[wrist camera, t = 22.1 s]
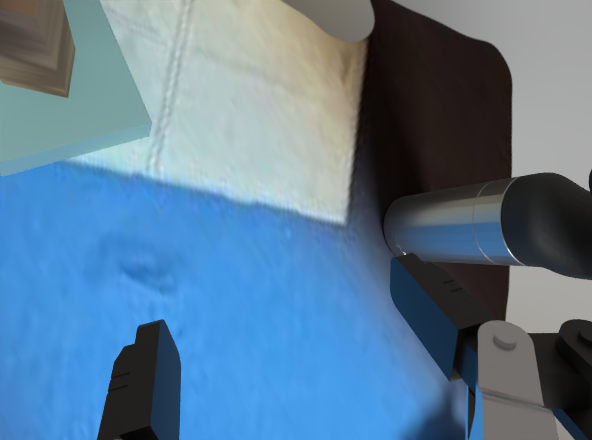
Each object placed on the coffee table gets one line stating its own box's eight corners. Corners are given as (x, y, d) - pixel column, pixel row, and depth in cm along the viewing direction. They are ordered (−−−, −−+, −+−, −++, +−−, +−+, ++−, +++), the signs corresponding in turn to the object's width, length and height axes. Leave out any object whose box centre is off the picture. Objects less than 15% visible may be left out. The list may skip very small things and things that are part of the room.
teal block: (95, 15, 36) (91, -18, 32) (148, 137, 38) (151, 122, 33) (-65, 36, 31) (-98, -1, 26) (4, 177, 32) (-16, 166, 28)
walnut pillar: (75, 49, 31) (48, -56, 20) (68, 98, 30) (35, 17, 19) (12, 31, 29) (-56, -95, 18) (3, 83, 28) (-72, -14, 18)
